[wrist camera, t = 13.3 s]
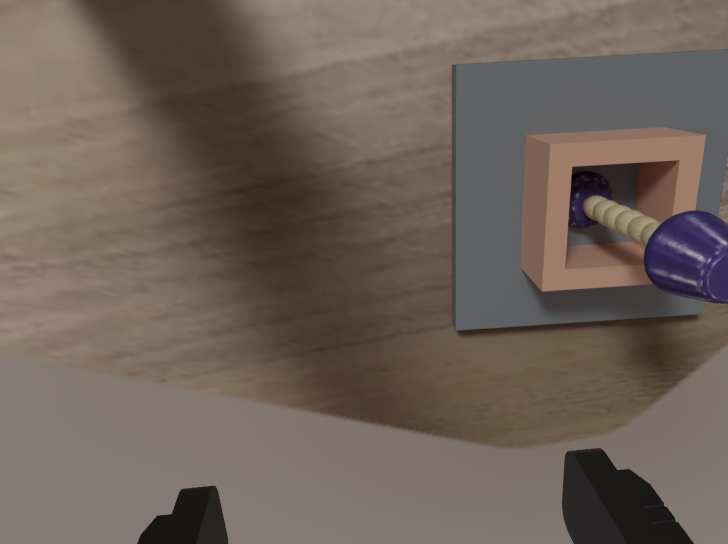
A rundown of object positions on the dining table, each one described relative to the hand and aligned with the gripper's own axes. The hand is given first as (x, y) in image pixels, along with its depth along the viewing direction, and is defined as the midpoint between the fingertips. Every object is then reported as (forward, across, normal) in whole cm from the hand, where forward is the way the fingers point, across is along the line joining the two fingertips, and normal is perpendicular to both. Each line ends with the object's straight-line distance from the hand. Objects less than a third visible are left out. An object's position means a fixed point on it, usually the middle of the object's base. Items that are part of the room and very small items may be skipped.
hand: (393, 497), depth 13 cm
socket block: (+32, -18, +2) cm, 37 cm away
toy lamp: (+31, -18, +2) cm, 35 cm away
